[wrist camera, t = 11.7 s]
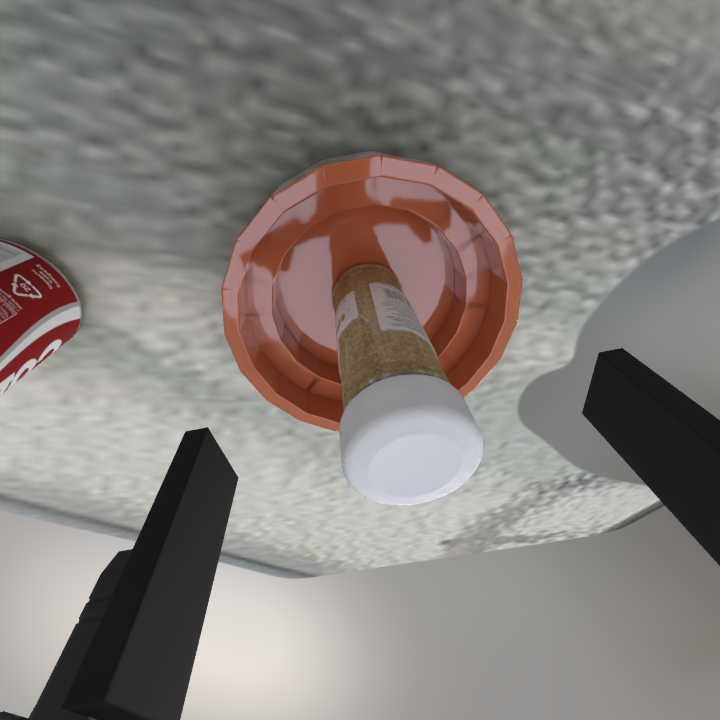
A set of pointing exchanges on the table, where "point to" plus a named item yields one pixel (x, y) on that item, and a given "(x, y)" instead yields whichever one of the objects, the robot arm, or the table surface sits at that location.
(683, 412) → the robot arm
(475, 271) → the bowl
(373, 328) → the sprinkles bottle
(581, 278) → the table surface
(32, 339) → the soda can
